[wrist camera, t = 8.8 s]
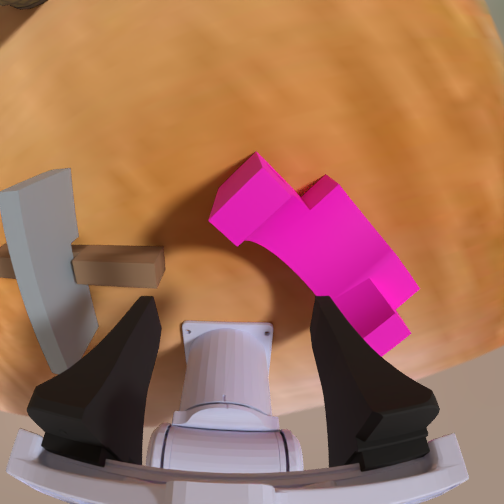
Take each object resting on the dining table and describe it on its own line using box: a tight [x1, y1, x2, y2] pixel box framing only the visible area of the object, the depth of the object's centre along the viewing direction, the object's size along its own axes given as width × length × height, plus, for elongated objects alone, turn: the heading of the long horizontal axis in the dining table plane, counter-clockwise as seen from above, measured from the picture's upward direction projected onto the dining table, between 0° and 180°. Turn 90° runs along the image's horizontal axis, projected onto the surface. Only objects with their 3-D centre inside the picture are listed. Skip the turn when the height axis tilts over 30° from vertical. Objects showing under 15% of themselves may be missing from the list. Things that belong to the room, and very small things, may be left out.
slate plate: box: [0, 168, 99, 374], centre depth 21 cm, size 15×2×7 cm, turn 178°
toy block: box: [208, 152, 420, 357], centre depth 20 cm, size 15×6×8 cm, turn 44°
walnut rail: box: [0, 244, 165, 288], centre depth 22 cm, size 17×2×3 cm, turn 88°
